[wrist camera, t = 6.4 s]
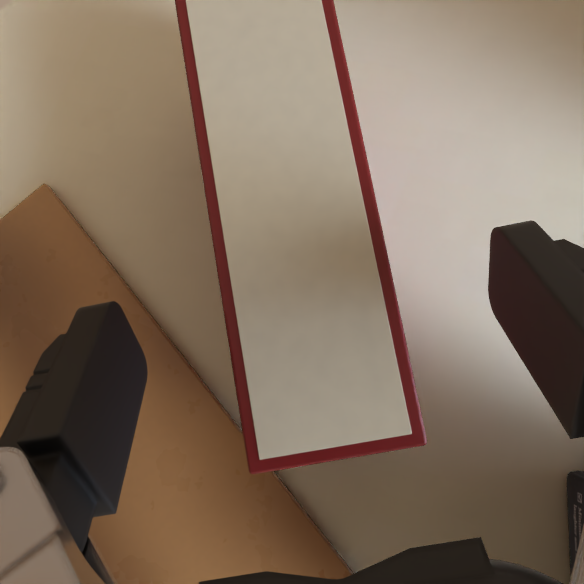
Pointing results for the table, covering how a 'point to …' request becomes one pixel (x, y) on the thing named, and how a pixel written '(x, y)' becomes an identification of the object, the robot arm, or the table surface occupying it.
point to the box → (575, 511)
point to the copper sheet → (150, 425)
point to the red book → (296, 235)
